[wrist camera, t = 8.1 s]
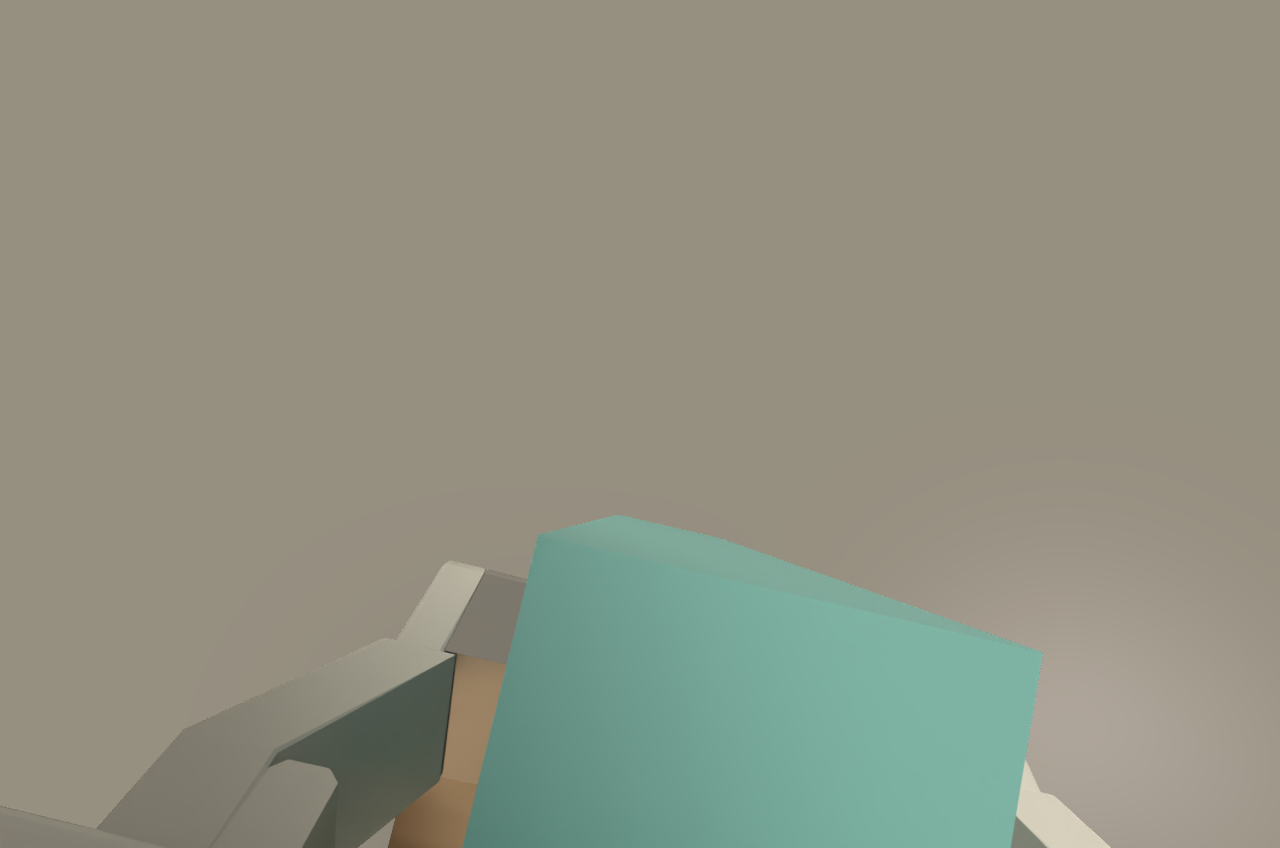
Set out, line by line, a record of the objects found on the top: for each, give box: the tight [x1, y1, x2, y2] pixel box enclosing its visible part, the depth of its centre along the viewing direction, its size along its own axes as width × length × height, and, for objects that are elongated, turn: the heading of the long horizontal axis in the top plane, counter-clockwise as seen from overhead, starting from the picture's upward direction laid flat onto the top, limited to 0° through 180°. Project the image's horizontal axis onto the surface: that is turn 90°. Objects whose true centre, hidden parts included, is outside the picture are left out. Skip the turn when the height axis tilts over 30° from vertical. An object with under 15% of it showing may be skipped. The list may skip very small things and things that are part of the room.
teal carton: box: [462, 515, 1043, 848], centre depth 16 cm, size 4×22×4 cm, turn 0°
